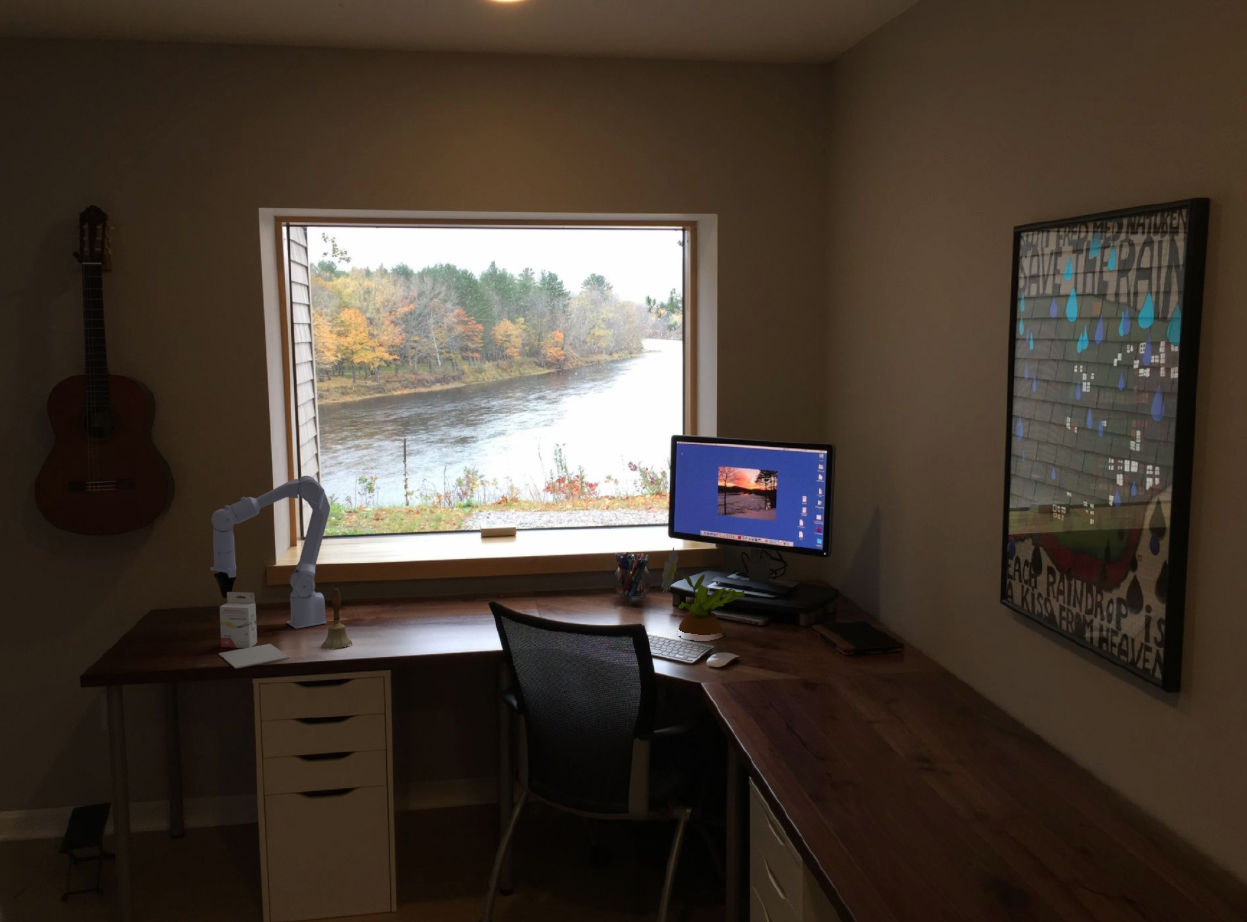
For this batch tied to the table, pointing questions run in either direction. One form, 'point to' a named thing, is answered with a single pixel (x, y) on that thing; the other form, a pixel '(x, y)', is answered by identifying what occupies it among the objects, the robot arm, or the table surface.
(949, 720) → the table surface
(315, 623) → the robot arm
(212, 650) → the table surface
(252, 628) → the ink cartridge box
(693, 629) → the decorative plant
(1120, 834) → the table surface
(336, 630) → the hand bell
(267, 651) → the mat
